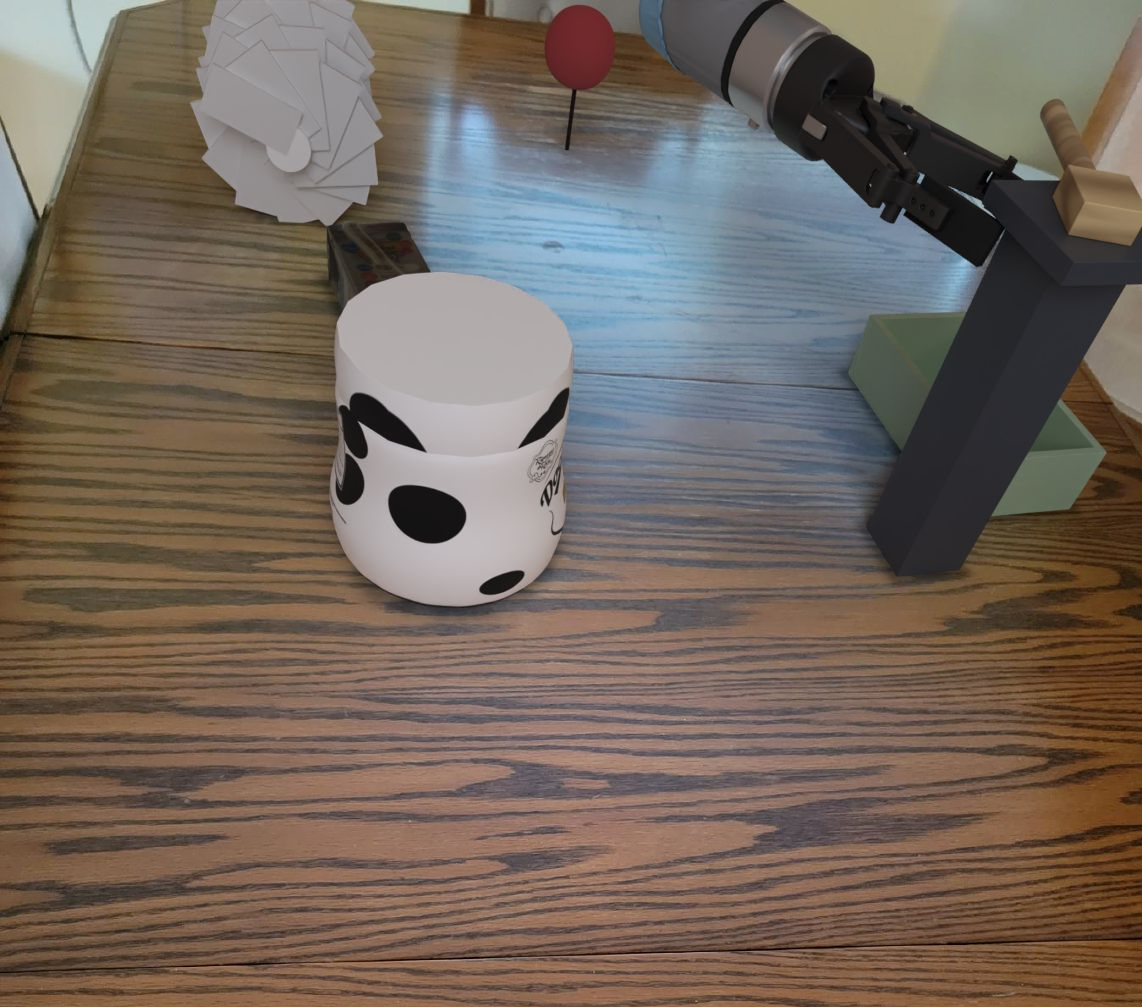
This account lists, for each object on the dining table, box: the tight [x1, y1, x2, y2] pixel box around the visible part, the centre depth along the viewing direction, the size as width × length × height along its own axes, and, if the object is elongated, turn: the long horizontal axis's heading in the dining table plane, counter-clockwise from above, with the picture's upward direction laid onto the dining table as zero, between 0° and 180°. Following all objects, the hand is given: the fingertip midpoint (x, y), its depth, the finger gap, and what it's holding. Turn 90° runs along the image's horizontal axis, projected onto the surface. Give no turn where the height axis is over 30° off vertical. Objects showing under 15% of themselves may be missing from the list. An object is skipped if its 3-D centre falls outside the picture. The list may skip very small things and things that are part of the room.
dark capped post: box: [865, 179, 1142, 578], centre depth 75 cm, size 10×8×28 cm
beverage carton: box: [326, 220, 432, 313], centre depth 93 cm, size 8×19×7 cm, turn 21°
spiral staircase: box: [189, 0, 384, 227], centre depth 103 cm, size 18×18×25 cm
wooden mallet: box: [1039, 98, 1142, 246], centre depth 67 cm, size 17×4×2 cm, turn 175°
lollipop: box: [543, 4, 616, 151], centre depth 116 cm, size 8×8×15 cm
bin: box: [847, 311, 1107, 517], centre depth 94 cm, size 22×13×7 cm, turn 15°
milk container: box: [328, 271, 575, 609], centre depth 73 cm, size 17×17×18 cm
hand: (1031, 241), depth 71 cm, fingers open, 11 cm apart
